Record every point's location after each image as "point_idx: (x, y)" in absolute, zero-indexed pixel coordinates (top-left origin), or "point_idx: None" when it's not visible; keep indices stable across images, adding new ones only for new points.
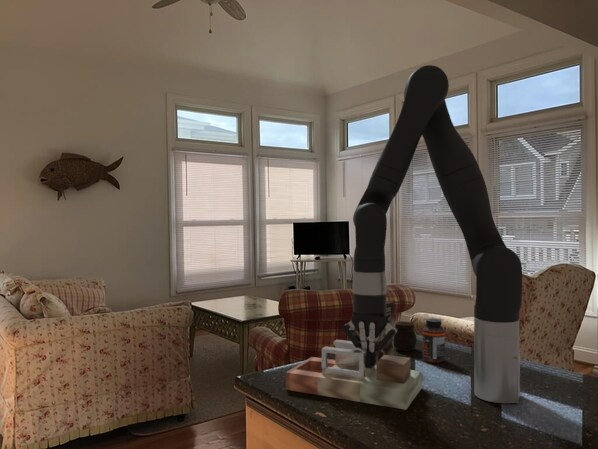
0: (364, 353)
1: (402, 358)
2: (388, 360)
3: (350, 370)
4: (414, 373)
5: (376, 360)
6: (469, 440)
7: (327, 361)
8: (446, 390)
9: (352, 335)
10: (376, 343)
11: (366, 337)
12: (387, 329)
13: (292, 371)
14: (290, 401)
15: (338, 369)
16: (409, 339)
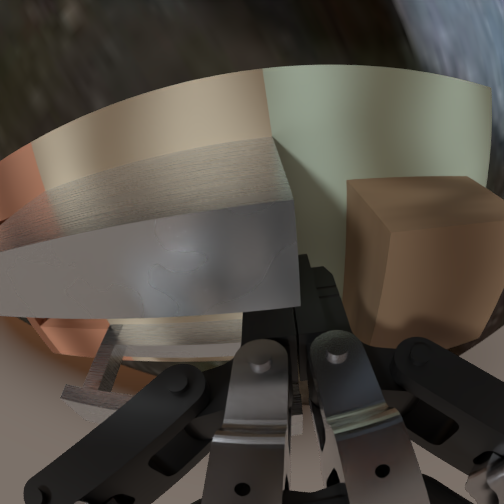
0: (302, 425)
1: (495, 252)
2: (424, 328)
3: (222, 348)
4: (476, 134)
5: (336, 290)
6: (494, 327)
7: (12, 196)
8: (499, 77)
9: (163, 487)
10: (367, 395)
11: (289, 485)
12: (489, 498)
13: (53, 343)
14: (139, 363)
15: (171, 354)
16: None
